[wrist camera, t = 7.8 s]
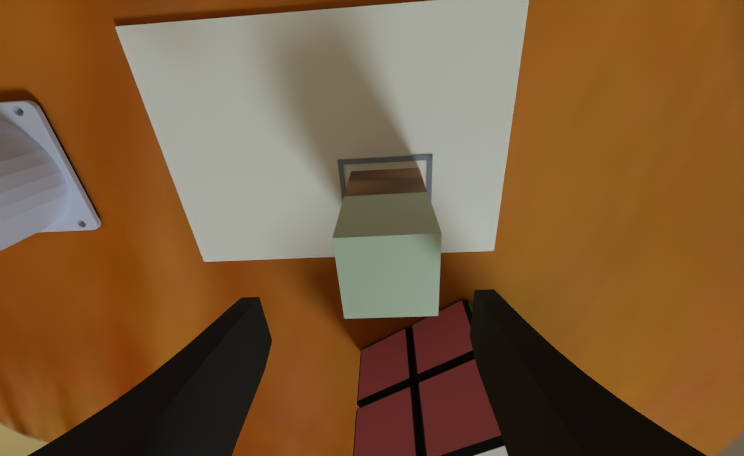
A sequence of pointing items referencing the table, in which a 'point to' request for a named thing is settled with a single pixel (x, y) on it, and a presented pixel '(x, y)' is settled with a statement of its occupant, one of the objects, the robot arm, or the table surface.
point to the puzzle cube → (425, 393)
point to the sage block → (388, 256)
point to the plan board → (330, 116)
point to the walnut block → (385, 182)
